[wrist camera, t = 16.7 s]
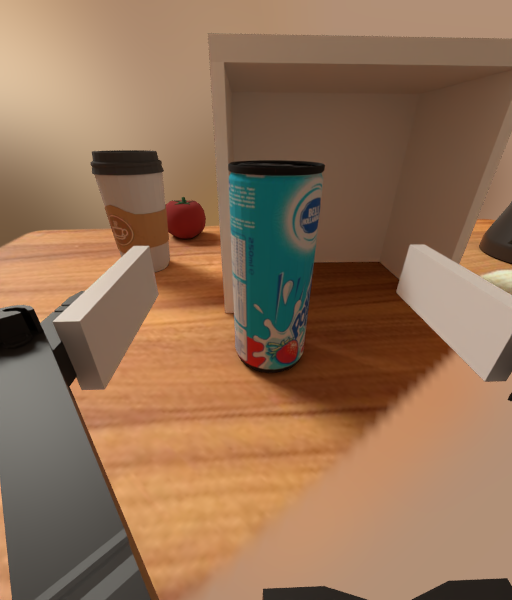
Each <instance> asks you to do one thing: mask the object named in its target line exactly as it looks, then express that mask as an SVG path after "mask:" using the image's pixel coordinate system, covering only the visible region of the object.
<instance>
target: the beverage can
mask: <svg viewBox="0 0 512 600" xmlns="http://www.w3.org/2000/svg"><path fill="white" fill-rule="evenodd" d="M228 170H229V171H230V172H231V174H230V176H229V204H230V230H231V255H232V278H233V300H234V322H235V348H236V351H237V354H238V356H239V357H240V359H241V361H242V362H243V363H245V364H246V365H247V366H248V367H250V368H252V369H254V370H257V371H260V372H266V373H275V372H281V371H284V370H287V369H289V368H291V367H293V366H294V365H295V364H296V363H297V362H298V361H299V359H300V357H301V356H302V354H303V350H304V342H305V334H306V325H307V317H308V309H309V300H310V292H311V284H312V275H313V267H314V259H315V250H316V241H317V232H318V224H319V215H320V206H321V197H322V187H323V176H322V172H323V171H324V170H325V165H324V164H323V163H318V162H308V161H286V160H256V161H237V162H230V163H229V164H228Z"/></svg>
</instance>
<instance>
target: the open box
mask: <svg viewBox="0 0 512 600" xmlns="http://www.w3.org/2000/svg"><path fill="white" fill-rule="evenodd" d="M208 43H209V60H210V75H211V93H212V109H213V125H214V141H215V158H216V174H217V191H218V205H219V222H220V240H221V256H222V272H223V289H224V305H225V313H234V300H233V278H232V255H231V230H230V204H229V176H230V174H231V172H230V171H229V170H228V164H229V163H230V162H237V161H256V160H286V161H308V162H318V163H323V164H324V165H325V170H324V171H323V172H322V176H323V187H322V197H321V206H320V215H319V224H318V232H317V241H316V250H315V259H314V262H380V263H381V264H382V265H384V266H385V267H386V268H387V269H388V270H389V271H390V272H391V273H392V274H394V275H395V276H396V277H397V278H398V279H399V280H400V277H401V273H402V270H403V266H404V263H405V260H406V256H407V253H408V249H409V246H410V245H426V246H428V247H430V248H431V249H433V250H435V251H437V252H438V253H440V254H442V255H444V256H445V257H447V258H449V259H450V260H452V261H454V262H456V263H457V264H459V263H460V261H461V258H462V256H463V253H464V251H465V248H466V246H467V243H468V241H469V238H470V236H471V233H472V231H473V228H474V225H475V223H476V220H477V218H478V215H479V213H480V210H481V207H482V205H483V203H484V200H485V198H486V195H487V193H488V190H489V187H490V185H491V182H492V180H493V177H494V174H495V172H496V169H497V167H498V165H499V162H500V159H501V157H502V154H503V152H504V149H505V147H506V144H507V142H508V139H509V137H510V134H511V132H512V39H494V38H492V39H491V38H441V37H437V38H436V37H383V36H382V37H381V36H328V35H326V36H325V35H322V36H321V35H271V34H216V33H215V34H214V33H208Z"/></svg>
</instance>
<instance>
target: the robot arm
mask: <svg viewBox="0 0 512 600" xmlns="http://www.w3.org/2000/svg"><path fill="white" fill-rule="evenodd" d="M479 247H480V249H481V250H482V251H483V252H485V253H487V254H488V255H491V256H493V257H495V258H498V259H500V260H503V261H506V262H509V263H512V202H511V203H510V205H509V206H508V207H507V208H506V209H505V211H504V212H503V213H502V214H501V215H500V216H499V218H498V219H497V220H496V221H495V222H494V223H493V224H492V226H491V227H490V228H489V229H488V230H487V231H486V233H485V234H484V236H483V238H482V240H481V243H480V245H479ZM396 293H397V294H398V295H399V296H400V297H401V298H402V299H403V300H404V301H405V302H406V303H407V304H408V305H409V306H410V307H411V308H412V309H413V310H414V311H415V312H416V313H417V314H418V315H419V316H420V317H421V318H422V319H423V320H424V321H425V322H426V323H427V324H428V325H429V326H430V327H431V328H432V329H433V330H434V331H435V332H436V333H437V334H438V335H439V336H440V337H441V338H442V339H443V340H444V341H445V342H446V343H447V344H448V345H449V346H450V347H451V348H452V349H453V350H454V351H455V352H456V353H457V354H458V355H459V356H460V357H461V358H462V359H463V360H464V361H465V362H466V363H467V364H468V365H469V366H470V367H471V368H472V369H473V370H474V371H475V372H476V373H477V374H478V375H479V376H480V377H481V378H482V379H483V380H484V381H488V382H489V381H506V380H507V379H508V377H509V375H510V374H511V372H512V295H511V294H509V293H508V292H506V291H504V290H502V289H501V288H499V287H497V286H495V285H494V284H492V283H490V282H489V281H487V280H485V279H483V278H482V277H480V276H478V275H476V274H475V273H473V272H471V271H470V270H468V269H466V268H464V267H463V266H461V265H459V264H457V263H456V262H454V261H452V260H450V259H449V258H447V257H445V256H444V255H442V254H440V253H438V252H437V251H435V250H433V249H431V248H430V247H428V246H426V245H410V246H409V249H408V253H407V256H406V260H405V263H404V266H403V270H402V273H401V277H400V280H399V284H398V287H397V291H396ZM158 295H159V294H158V289H157V284H156V279H155V274H154V268H153V263H152V258H151V253H150V247H149V246H133V247H132V248H131V249H130V250H129V251H128V252H126V253H125V254H124V255H123V256H122V257H121V258H120V259H119V260H118V261H117V262H116V263H115V264H114V265H113V266H111V267H110V268H109V269H108V270H107V271H106V272H105V273H104V274H103V275H102V276H101V277H100V278H99V279H98V280H96V281H95V282H94V283H93V284H92V285H91V286H90V287H89V288H88V289H87V290H86V291H81V292H79V293H77V294H75V295H73V296H71V297H69V298H68V299H67V300H66V301H65V302H64V303H63V304H62V305H61V306H59V307H58V308H57V309H56V310H55V312H52V313H51V314H50V315H49V316H48V317H47V318H46V319H45V320H43V321H42V322H41V323H40V322H39V319H38V317H37V315H36V313H35V311H34V309H33V308H32V307H31V306H26V305H17V306H10V307H5V308H1V309H0V484H1V494H2V503H3V513H4V523H5V533H6V543H7V553H8V563H9V573H10V583H11V593H12V600H159V599H158V596H157V594H156V591H155V589H154V587H153V584H152V582H151V580H150V577H149V575H148V572H147V570H146V568H145V565H144V563H143V560H142V558H141V556H140V553H139V551H138V549H137V546H136V544H135V541H134V539H133V537H132V534H131V532H130V529H129V527H128V525H127V522H126V520H125V518H124V515H123V513H122V510H121V508H120V506H119V503H118V501H117V498H116V496H115V494H114V491H113V489H112V487H111V484H110V482H109V479H108V477H107V475H106V472H105V470H104V467H103V465H102V463H101V460H100V458H99V456H98V453H97V451H96V448H95V446H94V444H93V441H92V439H91V436H90V434H89V432H88V429H87V427H86V425H85V422H84V420H83V417H82V415H81V413H80V410H79V408H78V405H77V403H76V401H75V398H74V396H73V394H72V391H71V389H70V387H69V386H70V385H71V383H72V382H73V381H74V379H75V378H77V380H78V382H79V385H80V387H81V389H82V390H98V389H105V388H106V387H107V385H108V383H109V381H110V380H111V378H112V376H113V374H114V372H115V371H116V369H117V367H118V365H119V364H120V362H121V360H122V358H123V357H124V355H125V353H126V351H127V350H128V348H129V346H130V344H131V342H132V341H133V339H134V337H135V335H136V334H137V332H138V330H139V328H140V327H141V325H142V323H143V321H144V320H145V318H146V316H147V314H148V313H149V311H150V309H151V307H152V305H153V304H154V302H155V300H156V298H157V297H158ZM508 400H510V401H512V393H511V394H510V396H509V398H508ZM263 600H367V599H363V598H360V597H357V596H354V595H351V594H347V593H344V592H341V591H338V590H335V589H331V588H328V587H325V586H318V587H297V588H296V587H295V588H273V589H263ZM412 600H512V586H511V584H510V582H509V581H508V579H507V578H504V579H482V580H460V581H447V582H446V583H444V584H442V585H440V586H438V587H436V588H434V589H432V590H430V591H428V592H426V593H424V594H422V595H420V596H418V597H416V598H414V599H412Z"/></svg>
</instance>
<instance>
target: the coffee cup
mask: <svg viewBox="0 0 512 600" xmlns="http://www.w3.org/2000/svg"><path fill="white" fill-rule="evenodd" d="M92 156H93V161H92V162H91V166H92V173H93V174H94V175H95V178H96V181H97V184H98V187H99V190H100V193H101V196H102V199H103V202H104V205H105V210H106V214H107V217H108V219H109V223H110V226H111V229H112V232H113V235H114V238H115V241H116V244H117V247H118V249H119V251H120V254H121V257H122V256H123V255H124V254H125V253H126V252H128V251H129V250H130V249H131V248H132V247H133V246H149V247H150V253H151V258H152V263H153V268H154V272H157V271H160V270H163V269H165V268H166V267H167V266H168V264H169V263H168V262H169V261H170V254H169V242H168V240H169V235H168V224H167V212H166V205H165V199H164V186H163V175H162V172H163V171H164V170H163V168H162V166H161V164H162V162H161V161H160V160H158V156H157V152H156V151H93V152H92Z"/></svg>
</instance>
